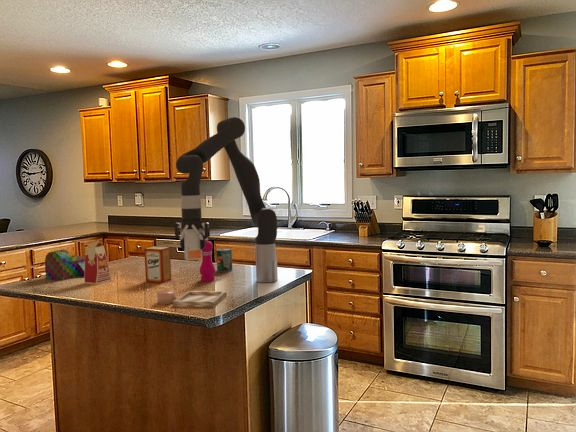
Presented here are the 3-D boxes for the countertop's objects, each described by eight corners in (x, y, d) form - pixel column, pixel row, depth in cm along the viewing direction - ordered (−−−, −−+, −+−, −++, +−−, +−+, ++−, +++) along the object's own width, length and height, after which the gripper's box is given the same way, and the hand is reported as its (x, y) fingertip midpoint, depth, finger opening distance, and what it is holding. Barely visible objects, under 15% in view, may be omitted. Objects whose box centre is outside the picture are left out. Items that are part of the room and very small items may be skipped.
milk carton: (111, 280, 231) (109, 239, 229) (96, 285, 223) (94, 241, 221) (97, 279, 235) (95, 238, 233) (82, 283, 227) (79, 241, 225)
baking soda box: (171, 280, 229) (169, 246, 228) (163, 283, 223) (161, 248, 222) (154, 279, 233) (152, 245, 231) (146, 282, 226) (144, 247, 225)
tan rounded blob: (179, 300, 192) (178, 290, 192) (171, 304, 185) (171, 294, 185) (162, 299, 193) (161, 289, 193) (154, 304, 186) (154, 294, 186)
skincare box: (187, 260, 187) (185, 229, 186) (184, 259, 191) (183, 228, 190) (202, 259, 190) (201, 228, 189) (199, 257, 194) (198, 227, 193)
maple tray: (226, 296, 195) (226, 291, 195) (213, 307, 179) (213, 302, 179) (188, 295, 198) (188, 290, 198) (172, 306, 182) (172, 301, 182)
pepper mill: (212, 282, 222) (210, 238, 221) (197, 281, 224) (195, 238, 222) (217, 278, 230) (216, 236, 228) (203, 278, 231) (201, 236, 229)
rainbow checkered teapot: (71, 281, 233) (69, 252, 231) (46, 279, 240) (44, 250, 238) (109, 271, 256) (108, 244, 254) (85, 269, 262) (84, 243, 261)
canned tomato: (235, 269, 250) (234, 248, 249) (225, 272, 244) (224, 250, 243) (223, 268, 255) (222, 247, 254) (213, 271, 248) (212, 249, 247)
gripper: (212, 206, 191) (213, 247, 192) (178, 206, 194) (179, 247, 195) (205, 207, 184) (206, 250, 185) (169, 208, 187) (171, 250, 188)
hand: (192, 249), depth 190 cm, fingers closed on skincare box, 7 cm apart
